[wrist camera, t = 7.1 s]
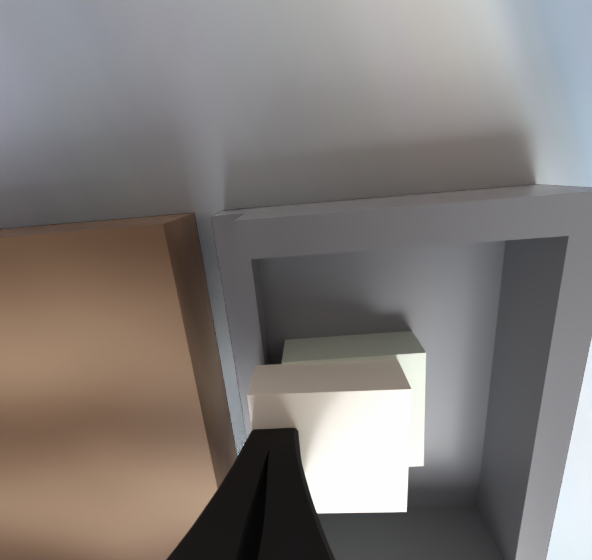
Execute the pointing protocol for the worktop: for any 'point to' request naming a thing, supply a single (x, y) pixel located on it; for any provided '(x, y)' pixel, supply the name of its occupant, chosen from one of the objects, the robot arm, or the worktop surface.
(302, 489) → the robot arm
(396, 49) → the worktop surface
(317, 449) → the cream tile
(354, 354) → the sage tile
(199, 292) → the walnut board
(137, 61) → the worktop surface
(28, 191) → the worktop surface
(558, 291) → the tray
